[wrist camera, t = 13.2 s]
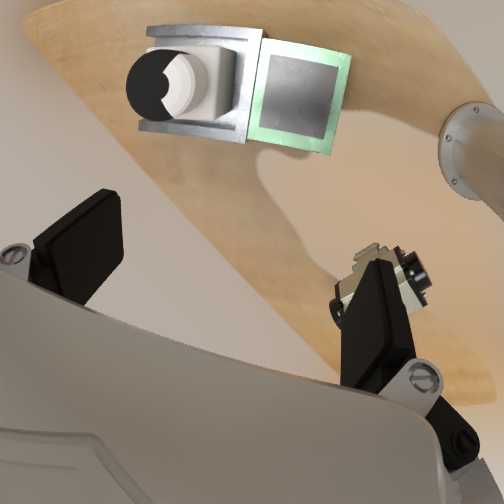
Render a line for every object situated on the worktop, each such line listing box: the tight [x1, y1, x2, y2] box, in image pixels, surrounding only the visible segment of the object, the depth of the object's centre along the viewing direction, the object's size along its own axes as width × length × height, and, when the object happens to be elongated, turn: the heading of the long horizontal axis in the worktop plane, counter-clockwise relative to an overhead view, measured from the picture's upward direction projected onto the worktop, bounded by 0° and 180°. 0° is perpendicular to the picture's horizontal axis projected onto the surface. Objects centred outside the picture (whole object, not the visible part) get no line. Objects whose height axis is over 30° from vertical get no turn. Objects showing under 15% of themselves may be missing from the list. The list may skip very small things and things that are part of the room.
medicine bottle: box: [126, 45, 236, 122], centre depth 25 cm, size 7×7×12 cm
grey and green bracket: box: [138, 25, 351, 155], centre depth 28 cm, size 21×12×7 cm, turn 82°
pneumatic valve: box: [329, 243, 432, 330], centre depth 34 cm, size 6×12×12 cm, turn 133°
